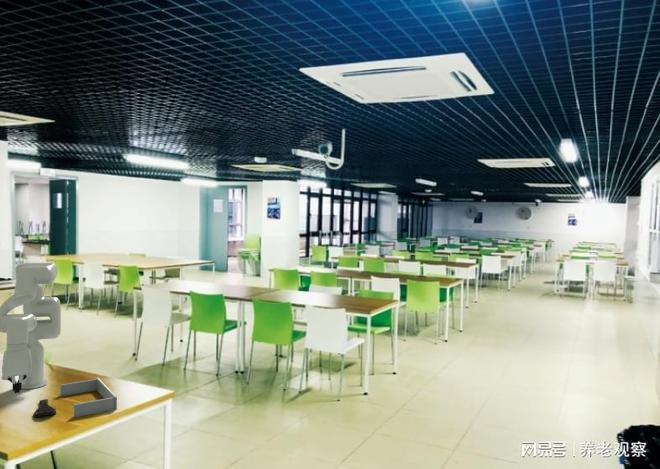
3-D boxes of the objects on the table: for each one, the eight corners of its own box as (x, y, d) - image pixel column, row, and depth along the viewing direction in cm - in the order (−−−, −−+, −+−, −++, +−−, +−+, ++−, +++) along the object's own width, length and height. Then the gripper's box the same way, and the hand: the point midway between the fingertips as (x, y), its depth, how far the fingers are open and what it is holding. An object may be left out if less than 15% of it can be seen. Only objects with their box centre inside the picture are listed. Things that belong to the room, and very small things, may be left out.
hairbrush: (54, 393, 225) (56, 408, 204) (54, 401, 225) (57, 417, 204) (32, 396, 221) (33, 412, 199) (32, 405, 221) (33, 421, 199)
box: (60, 395, 230) (60, 383, 230) (98, 389, 240) (98, 377, 239) (74, 417, 204) (74, 403, 204) (116, 409, 214) (116, 395, 214)
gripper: (37, 343, 213) (36, 387, 212) (-6, 348, 204) (-6, 393, 203) (39, 346, 207) (39, 391, 206) (-4, 351, 198) (-5, 398, 197)
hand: (16, 392), depth 205 cm, fingers closed
